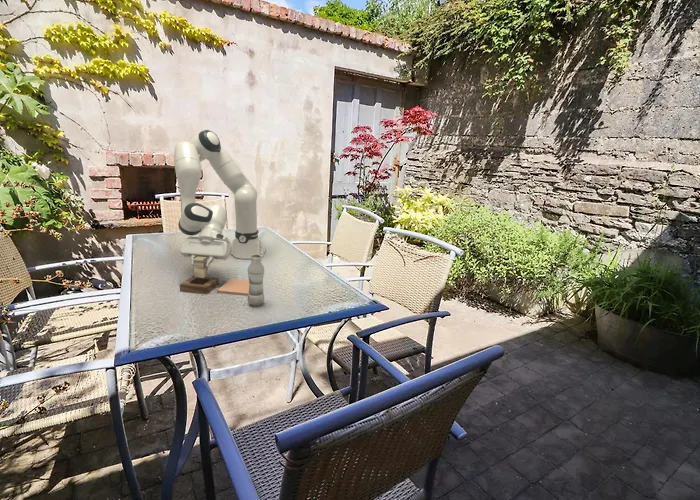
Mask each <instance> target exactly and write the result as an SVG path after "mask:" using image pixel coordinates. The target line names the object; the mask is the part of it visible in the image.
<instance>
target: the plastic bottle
mask: <svg viewBox="0 0 700 500" xmlns="http://www.w3.org/2000/svg"><path fill="white" fill-rule="evenodd" d="M250 261H251V263H250V264H249V265H248V267H247V275H248V281H249V293H248V296H247V303H248V304H249V305H250V306H254V307H257V306H261V305H263V303H264V302H265V294H264V275H265V267H264V265H263V263H262V262H261V261H262V257H261V256H260V255H252V256H251V259H250Z"/></svg>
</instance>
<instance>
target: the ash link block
mask: <svg viewBox="0 0 700 500" xmlns="http://www.w3.org/2000/svg"><path fill="white" fill-rule="evenodd" d="M207 261H208V258H207V257H200V256H198V257H196V258H194V259H193V263H194V266H193V271H194V273H193V275H194V277H198V278H204V277H208V275H209V267H205V266H204V264H205V262H207Z"/></svg>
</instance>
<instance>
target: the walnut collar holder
mask: <svg viewBox="0 0 700 500" xmlns="http://www.w3.org/2000/svg"><path fill="white" fill-rule="evenodd" d="M219 285H220V279H219V277H212V276H206V277H204V278H198V277H194V274H193V275H191V276H190V277H189V278H187V279H186V280H185V281H183V282H181V283H180V284H179V292H182V293H191V294H192V293H193V294H202V295H203V294H204V295H208V294H209V293H210V292H212V291H213V290H214V289H215V288H216V287H218V286H219Z"/></svg>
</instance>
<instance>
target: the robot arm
mask: <svg viewBox="0 0 700 500" xmlns="http://www.w3.org/2000/svg"><path fill="white" fill-rule="evenodd" d="M205 160H207V161H208V162H209V164H210V166H211V167H212V168H213V170H214V172H215V173H216V175H217V176H218V177H219V178H220V180H221V182H222V183H223V184H224V185H225V186H226V187H227V188H228V189H229V190H230V191H231V193H233V195H234V210H235V211H234V212H235V231H234V232H235V233H234V235H235V236H234V237H235V238H234V239H233V240H232V249H230V248H231V247H230V246H231V241H230V239H229V238H228V237H227V235H226V234H223V230H224V229H225V226H226V222H227V217H228V216H227V215H228V213H227V211H226V208H224V207H223V206H221V205H219V204H214V203H213V204H207V205H206V204H201V203H198V202H196V194H197V190H198V186H199V184H200V181H201V177H202V165H201V162H203V161H205ZM173 162H174V164H173V165H174V171H175V176H176V181H177V185H178V189H179V196H180V199H179V200H180V207H181V208H180V210H181V211H180V212H181V215H180V218H179V221H178V225H177V226H178V229H179V231H180V232H182V233H183V234H184V235H186V236H188V237H187V238H185V239H184V241H183V244H182V246H181V247H180V250H179V251H180V254H181V255H182V257H187V258H191V261H192V262H191V266H192V267H194V263H193V259H194V258H196V257H198V256H200V257H207V262H205V264H204V266H205V267H208V268H210V265H211V264H212V263H213V262H214V261H215V260H223V261H227V259H229V257H230V255H232V256H233V257H235V258H236V259H241V260H251V256H252V255H260V256H261V258H264V255H265V253H266V248H264V247H262V245H263V244H262V243H263V242H262V240H261V239H260V238H259V232H260V231H259V229H257V227H258V226H257V224H258V223H257V222H258V221H257V220H258V216H257V200H258V191H257V190H256V188H255V187H254V186H253V183H251V182H250V181H249V179H248V178H247V177H246V175H245V174H244V173H243V172H242V170H241V169H240V168H239V166H238V165H237V163H236V162H235V160H234V159H233V157H232V156H231V154H230V153H229V152H228V151H227V150H226V149H225V148H224V147H223V146H222V145H221V141H220V139H219V137H218V135H217V134H216V133H215V132H213V131H212V130H210V129H204V130H202V131H200V132H199V133H198V134H195V135H194V136H193V137H191V138H190V139H189V140H188V141H180V142H178V143H176V145H175V146H174V151H173ZM196 235H198V236H196ZM231 250H232V251H231Z"/></svg>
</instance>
